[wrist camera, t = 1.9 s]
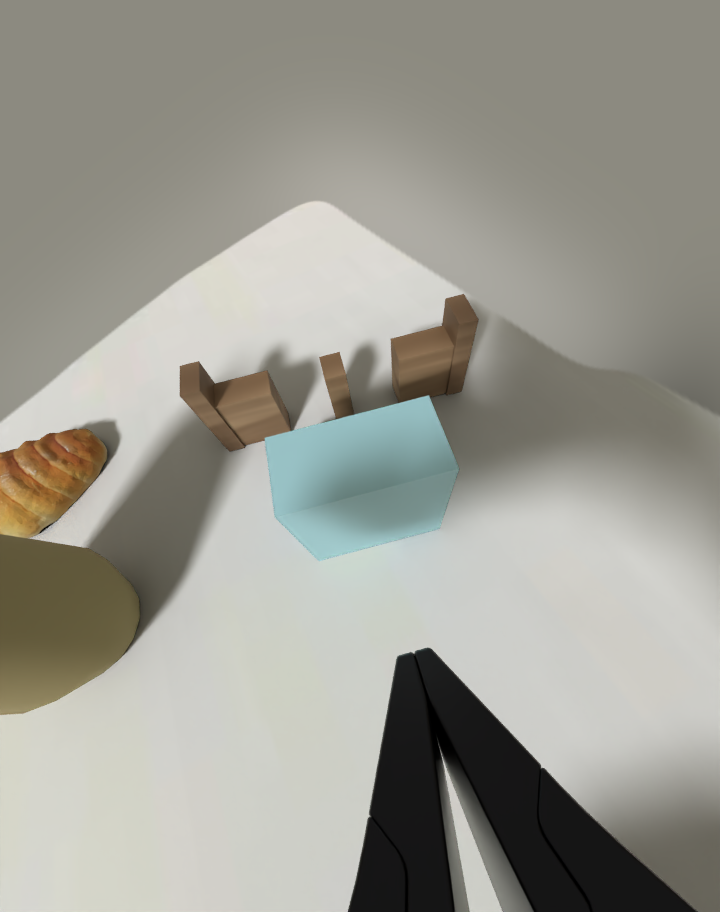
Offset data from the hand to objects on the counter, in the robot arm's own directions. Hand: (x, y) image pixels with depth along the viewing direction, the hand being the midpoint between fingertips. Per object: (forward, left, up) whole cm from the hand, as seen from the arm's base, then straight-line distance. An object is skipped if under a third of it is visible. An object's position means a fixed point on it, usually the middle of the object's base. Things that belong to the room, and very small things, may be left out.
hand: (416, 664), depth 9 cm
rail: (+12, +12, -13) cm, 22 cm away
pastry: (-5, +29, -13) cm, 32 cm away
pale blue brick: (+7, +7, -13) cm, 16 cm away
